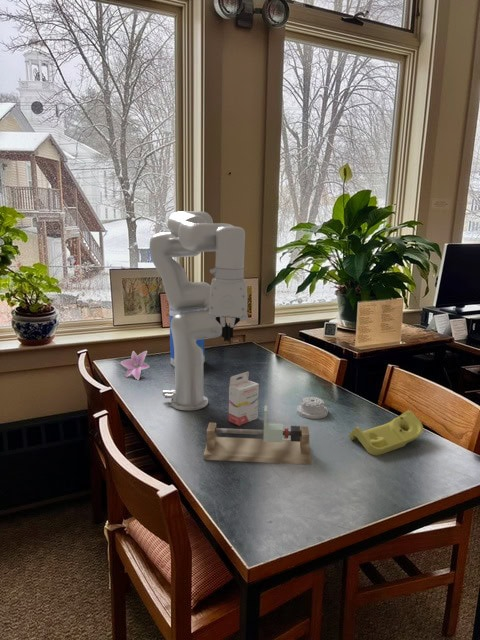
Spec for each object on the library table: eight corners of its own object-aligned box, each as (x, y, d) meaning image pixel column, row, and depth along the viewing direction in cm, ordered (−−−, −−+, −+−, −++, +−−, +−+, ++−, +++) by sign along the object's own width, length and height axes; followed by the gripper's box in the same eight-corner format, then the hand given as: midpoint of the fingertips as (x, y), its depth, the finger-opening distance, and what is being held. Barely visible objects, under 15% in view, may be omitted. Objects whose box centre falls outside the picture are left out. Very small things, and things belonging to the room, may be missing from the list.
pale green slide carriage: (263, 441, 124) (264, 410, 122) (263, 435, 128) (264, 405, 126) (282, 442, 124) (283, 411, 122) (282, 436, 127) (283, 406, 125)
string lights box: (194, 358, 207) (194, 301, 201) (205, 362, 201) (205, 303, 196) (169, 364, 198) (168, 305, 192) (180, 369, 193) (179, 307, 187)
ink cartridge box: (239, 426, 142) (239, 380, 139) (228, 421, 145) (228, 376, 142) (258, 418, 148) (259, 374, 144) (247, 413, 151) (248, 370, 148)
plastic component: (375, 451, 124) (353, 422, 130) (366, 467, 128) (346, 439, 135) (430, 432, 132) (407, 406, 139) (420, 448, 136) (398, 422, 143)
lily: (119, 374, 188) (113, 358, 182) (144, 359, 194) (138, 343, 187) (135, 391, 181) (129, 375, 175) (160, 374, 186) (155, 358, 180)
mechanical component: (295, 417, 149) (326, 421, 147) (295, 405, 148) (327, 408, 146) (298, 405, 159) (328, 408, 156) (299, 393, 158) (329, 396, 155)
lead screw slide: (203, 459, 123) (203, 433, 121) (208, 441, 133) (208, 416, 131) (311, 464, 121) (312, 438, 119) (308, 445, 131) (309, 420, 129)
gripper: (199, 275, 121) (198, 342, 126) (257, 277, 120) (253, 345, 125) (203, 270, 128) (202, 334, 133) (258, 272, 127) (255, 337, 132)
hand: (227, 339), depth 129 cm, fingers closed
